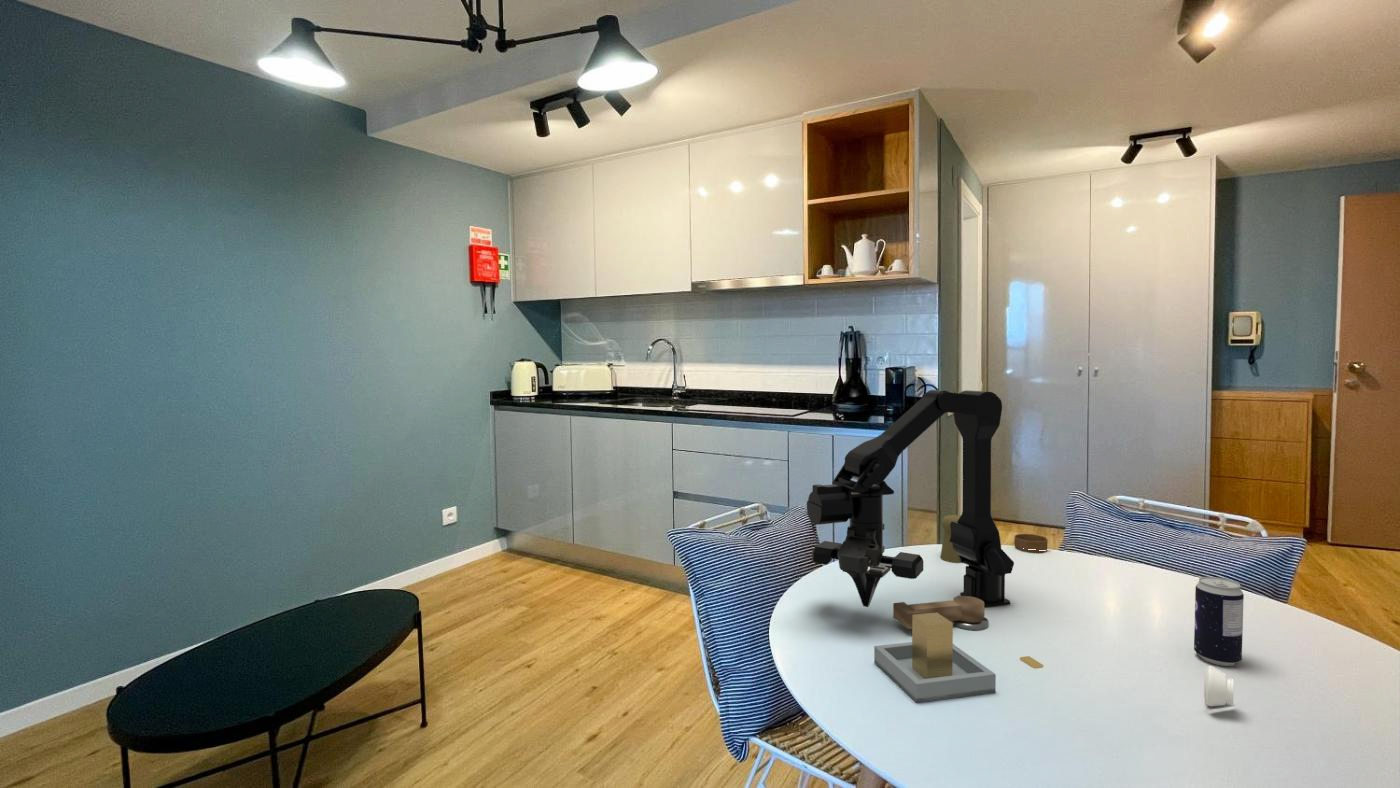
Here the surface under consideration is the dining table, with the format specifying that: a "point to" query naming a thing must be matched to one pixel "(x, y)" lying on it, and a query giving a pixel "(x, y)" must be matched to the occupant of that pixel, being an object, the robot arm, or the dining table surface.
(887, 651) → the tray
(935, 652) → the wooden block
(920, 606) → the crank
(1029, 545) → the brown round basket
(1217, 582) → the beverage can
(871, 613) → the dining table surface
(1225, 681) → the white jar
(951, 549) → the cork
